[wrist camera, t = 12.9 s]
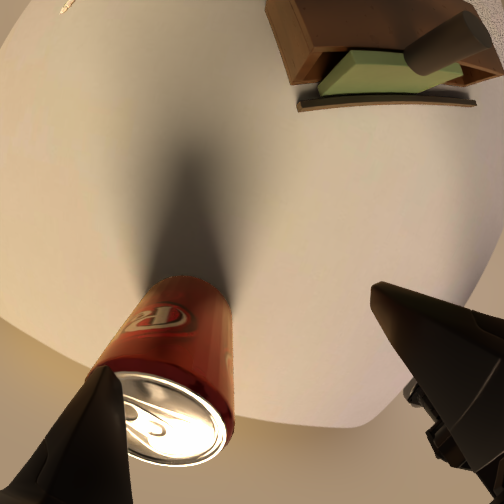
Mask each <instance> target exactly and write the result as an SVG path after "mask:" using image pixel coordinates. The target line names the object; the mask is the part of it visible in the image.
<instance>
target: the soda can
mask: <svg viewBox="0 0 504 504" xmlns="http://www.w3.org/2000/svg"><path fill="white" fill-rule="evenodd" d="M105 365H107V366H109V367H110V368H111V370H112V371H113V372H114V373H115V375H116V376H117V377H118V378H119V379H120V381H121V383H122V389H123V399H124V408H125V416H126V425H127V446H128V454H129V455H131V456H133V457H135V458H138V459H140V460H143V461H147V462H150V463H153V464H159V465H164V466H190V465H194V464H199V463H202V462H204V461H207V460H209V459H210V458H212V457H214V456H215V455H216V454H218V453H219V452H220V451H222V449H223V448H224V447H225V446H226V445H227V444H228V443H229V441H230V439H231V437H232V435H233V433H234V426H235V413H234V378H233V328H232V314H231V310H230V307H229V305H228V303H227V301H226V299H225V298H224V296H223V295H222V294H221V293H220V292H219V290H218V289H216V288H215V287H214V286H212V285H211V284H210V283H208V282H206V281H204V280H202V279H199V278H196V277H192V276H184V275H181V276H172V277H169V278H165V279H163V280H161V281H160V282H158V283H156V284H155V285H154V286H153V287H152V288H150V290H149V291H148V292H147V293H146V295H145V296H144V297H143V299H142V300H141V301H140V303H139V304H138V305H137V306H136V308H135V309H134V310H133V312H132V313H131V314H130V316H129V317H128V318H127V320H126V321H125V322H124V324H123V325H122V327H121V328H120V329H119V331H118V332H117V333H116V335H115V336H114V338H113V339H112V340H111V342H110V343H109V344H108V346H107V347H106V349H105V350H104V352H103V353H102V354H101V356H100V357H99V359H98V360H97V362H96V363H95V364H94V366H93V367H92V369H91V370H90V372H89V374H88V375H87V377H86V379H85V382H86V380H87V379H88V378H89V376H90V375H91V374H92V373H93V371H94V370H95V369H96V368H97V367H99V366H105Z"/></svg>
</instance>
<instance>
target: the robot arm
mask: <svg viewBox="0 0 504 504" xmlns="http://www.w3.org/2000/svg"><path fill="white" fill-rule="evenodd" d="M370 307H371V310H372V312H373V314H374V315H375V317H376V319H377V321H378V322H379V324H380V326H381V328H382V329H383V331H384V333H385V335H386V336H387V338H388V340H389V342H390V343H391V345H392V346H393V348H394V349H395V351H396V352H397V353H398V355H399V356H400V358H401V359H402V361H403V362H404V363H405V365H406V366H407V368H408V369H409V371H410V372H411V373H412V375H413V376H414V378H415V379H416V381H417V382H418V384H419V386H418V387H417V388H416V389H415V390H414V392H413V393H412V394H411V395H410V396H409V398H408V399H407V401H408V402H409V403H412V404H416V405H420V406H422V407H423V408H424V409H425V410H426V412H427V413H428V414H429V416H430V417H431V418H432V419H433V421H434V422H435V424H434V425H433V426H432V427H431V428H430V429H429V430H427V431H426V435H427V438H428V440H429V442H430V444H431V446H432V448H433V450H434V452H435V456H436V458H437V459H442V460H443V461H445V462H448V463H449V464H450V466H451V467H454V468H460V469H464V470H469V471H473V472H474V473H476V474H477V475H478V477H479V478H480V480H481V481H482V482H483V484H484V485H485V487H486V488H487V489H488V491H489V492H490V494H491V495H492V497H493V498H494V500H493V501H492V502H491V503H490V504H504V319H501V318H496V317H493V316H489V315H486V314H483V313H480V312H477V311H474V310H470V309H467V308H464V307H461V306H458V305H455V304H452V303H449V302H446V301H443V300H440V299H437V298H434V297H430V296H427V295H424V294H421V293H418V292H415V291H412V290H409V289H405V288H402V287H399V286H396V285H393V284H390V283H386V282H383V281H382V282H379V283H376V284H374V285H372V287H371V296H370ZM0 504H133V499H132V491H131V483H130V473H129V461H128V446H127V425H126V416H125V408H124V399H123V389H122V383H121V381H120V379H119V378H118V377H117V376H116V375H115V373H114V372H113V371H112V370H111V368H110V367H109V366H107V365H105V366H99V367H97V368H96V369H95V370H94V371H93V373H92V374H91V375H90V376H89V378H88V379H87V380H86V382H85V383H84V385H83V386H82V387H81V388H80V390H79V391H78V392H77V394H76V395H75V396H74V398H73V399H72V400H71V402H70V403H69V404H68V406H67V407H66V408H65V410H64V411H63V413H62V414H61V415H60V417H59V418H58V420H57V421H56V422H55V424H54V425H53V427H52V428H51V429H50V431H49V432H48V434H47V435H46V437H45V439H43V441H42V442H41V444H40V445H39V447H38V448H37V450H36V451H35V452H34V454H33V455H32V457H31V458H30V459H29V460H28V462H27V463H26V464H25V466H24V467H23V468H22V469H21V471H20V472H19V473H18V474H17V476H16V477H15V478H14V480H13V481H12V482H11V483H10V484H9V486H7V487H6V488H4V489H3V490H0Z"/></svg>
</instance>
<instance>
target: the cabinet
mask: <svg viewBox="0 0 504 504" xmlns="http://www.w3.org/2000/svg"><path fill="white" fill-rule="evenodd" d="M463 10H467V11H470V12H471V13H473V14H474V15H475V16H476V17H477V18H478V19H479V20H480V21H481V19H480V17H479V15H478V14H477V12H476V10H475V8H474V7H473V5H472V4H470V3H468V2H465V1H463V0H267V1H266V6H265V12H266V15H267V17H268V20H269V23H270V25H271V28H272V31H273V34H274V36H275V39H276V42H277V45H278V48H279V51H280V54H281V57H282V60H283V63H284V66H285V69H286V72H287V75H288V79H289V82H290V85H298V84H307V83H317V82H322V81H323V79H324V78H325V77H326V76H327V75H328V74H329V73H330V72H331V71H332V70H333V68H334V67H335V66H336V65H337V64H338V63H339V62H340V61H341V60H342V59H343V58H344V57H345V56H346V54H347V53H348V52H349V51H350V50H364V51H382V52H393V53H403V52H404V49H405V48H406V47H407V46H408V45H410V44H411V43H413V42H414V41H416V40H417V39H419V38H420V37H422V36H423V35H425V34H426V33H428V32H429V31H431V30H432V29H434V28H435V27H437V26H439V25H440V24H442V23H443V22H445V21H447V20H448V19H450V18H451V17H453V16H455V15H456V14H458V13H460V12H461V11H463ZM481 22H482V21H481ZM456 63H459V64H460V67H461V69H462V72H463V75H462V76H460V77H457V78H454V79H452V80H449V81H447V82H444V83H442V84H445V85H453V86H459V87H466V86H469V85H473V84H476V83H479V82H482V81H486V80H489V79H493V78H496V77H500V76H503V75H504V70H503V67H502V64H501V62H500V59H499V57H498V55H497V52H496V50H495V48H494V45H493V43H492V47H491V48H489V49H487V50H484V51H482V52H479V53H477V54H474V55H472V56H470V57H467V58H465V59H463V60H460V61H458V62H456ZM392 104H423V105H447V106H461V107H474V106H477V104H476V101H475V100H469V99H460V98H451V97H439V96H422V95H362V96H345V97H332V98H321V99H312V100H304V101H300V102H299V103H298V104H297V109H298V112H305V111H313V110H321V109H330V108H340V107H352V106H367V105H392Z"/></svg>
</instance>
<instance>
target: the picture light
mask: <svg viewBox="0 0 504 504" xmlns="http://www.w3.org/2000/svg"><path fill="white" fill-rule="evenodd" d="M73 2H74V0H68V2H66V3H65V5H64V7H63V8H62V10H61V13H60V14H62V13H63V12H65V11H66V10H67V9H68V8H69V7H70V6H71V4H72V3H73Z"/></svg>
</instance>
